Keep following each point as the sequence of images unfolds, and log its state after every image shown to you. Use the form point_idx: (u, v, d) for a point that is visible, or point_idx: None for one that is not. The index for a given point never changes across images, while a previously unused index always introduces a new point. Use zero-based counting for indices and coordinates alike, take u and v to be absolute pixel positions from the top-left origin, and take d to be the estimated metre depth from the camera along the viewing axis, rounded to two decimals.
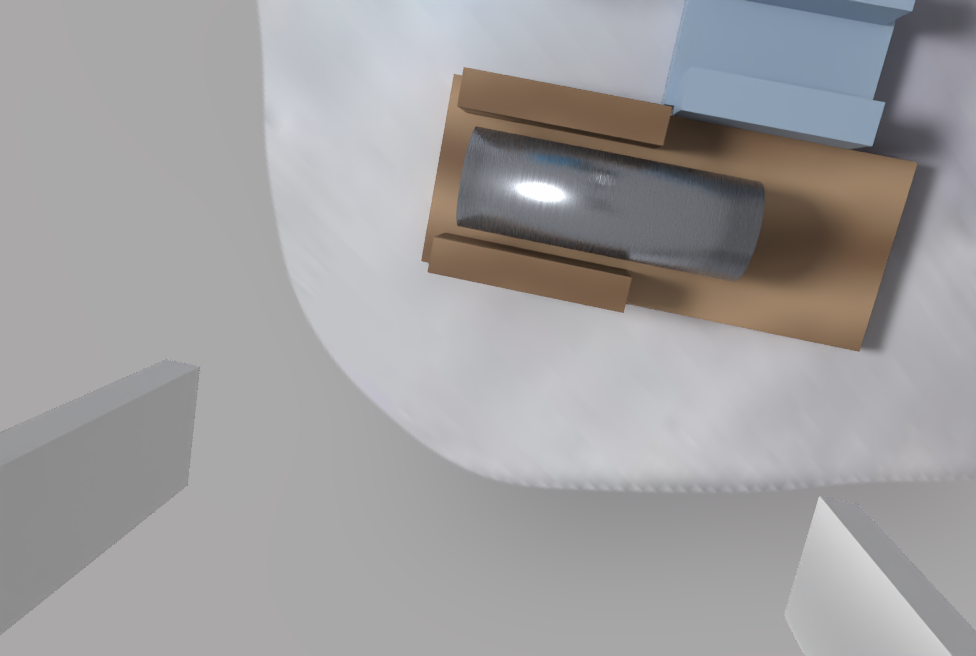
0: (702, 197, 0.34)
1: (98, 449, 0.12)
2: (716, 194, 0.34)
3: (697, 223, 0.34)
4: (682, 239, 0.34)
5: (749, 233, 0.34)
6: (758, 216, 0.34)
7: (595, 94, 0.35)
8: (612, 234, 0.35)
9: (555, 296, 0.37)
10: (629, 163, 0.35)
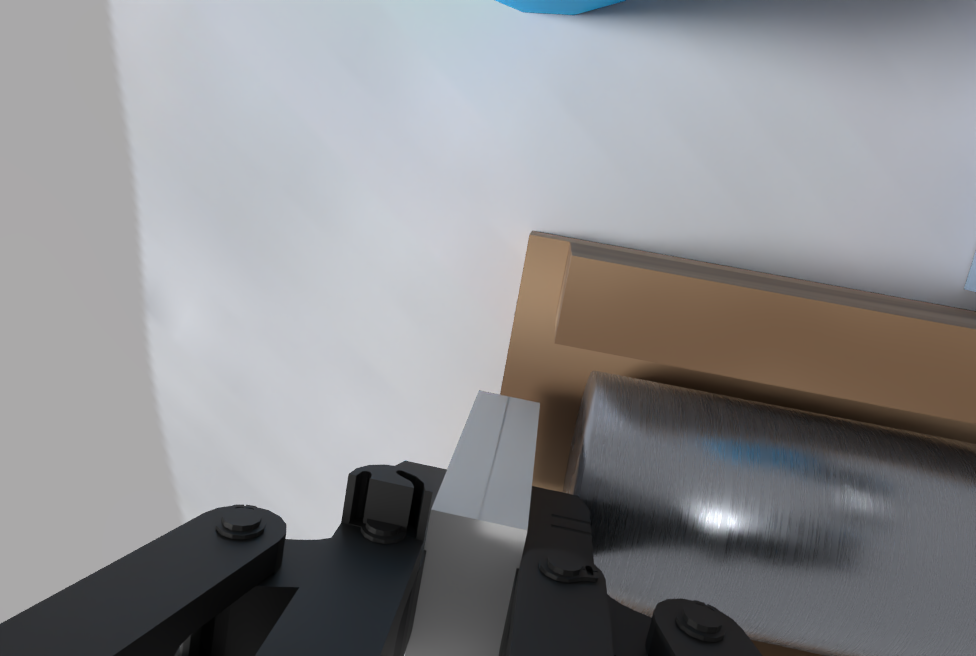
0: None
1: None
2: None
3: None
4: None
5: None
6: None
7: (899, 320, 0.14)
8: None
9: None
10: None
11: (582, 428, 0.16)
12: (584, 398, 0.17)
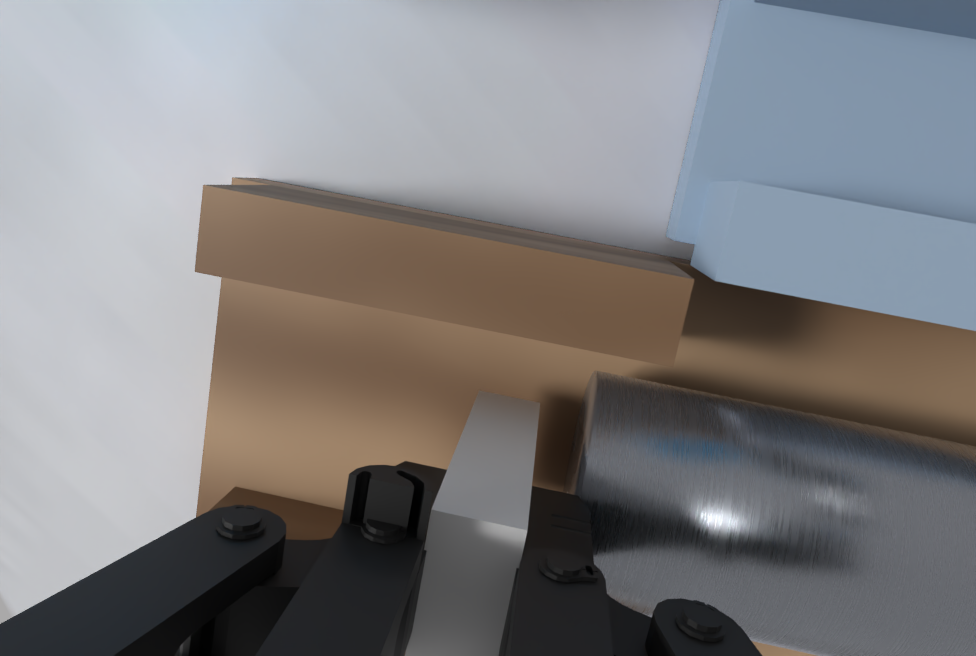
0: None
1: None
2: None
3: None
4: None
5: None
6: None
7: (510, 248, 0.15)
8: None
9: None
10: None
11: (583, 428, 0.16)
12: (585, 398, 0.17)
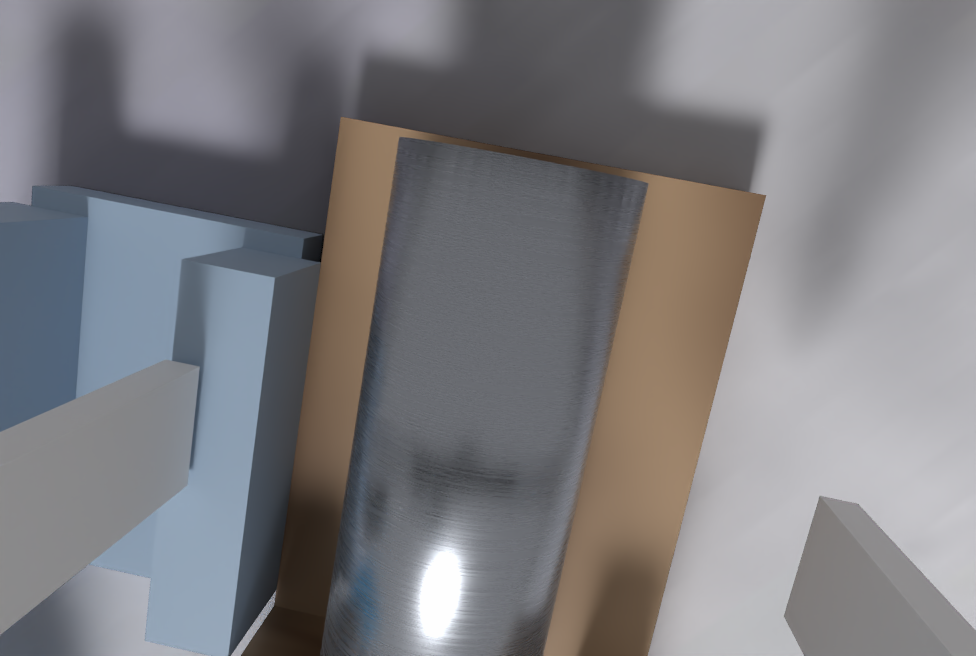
0: (406, 299, 0.13)
1: (97, 449, 0.12)
2: (402, 262, 0.13)
3: (463, 315, 0.13)
4: (508, 350, 0.13)
5: (487, 177, 0.12)
6: (446, 155, 0.13)
7: None
8: (498, 518, 0.14)
9: None
10: (353, 450, 0.15)
11: None
12: None
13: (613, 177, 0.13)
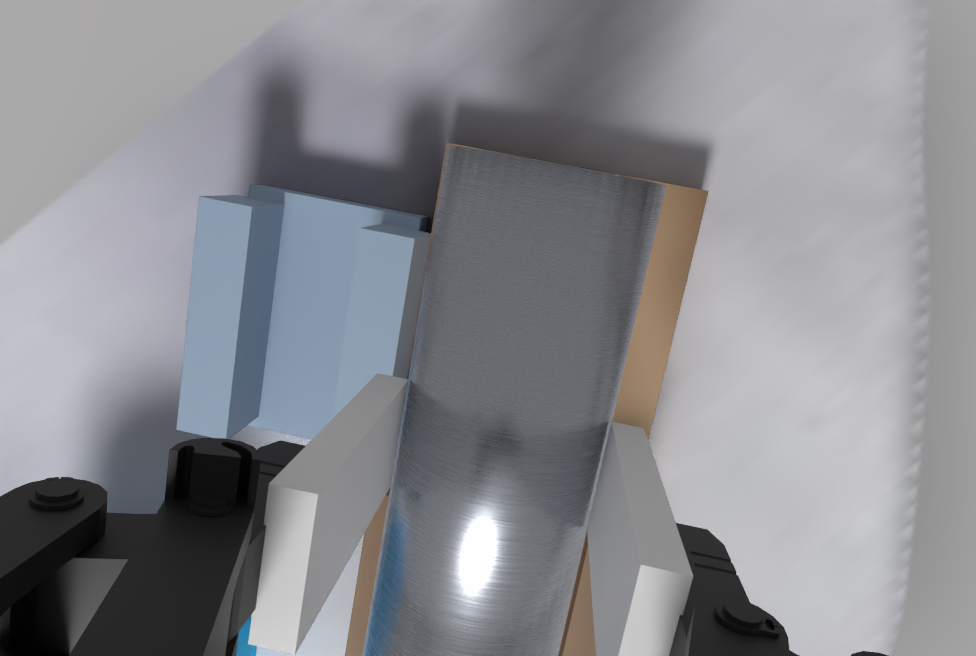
0: (448, 283, 0.16)
1: (367, 455, 0.14)
2: (445, 252, 0.16)
3: (496, 298, 0.15)
4: (534, 328, 0.15)
5: (517, 178, 0.14)
6: (483, 160, 0.15)
7: (360, 578, 0.28)
8: (524, 476, 0.16)
9: None
10: (403, 416, 0.17)
11: None
12: None
13: (628, 179, 0.15)
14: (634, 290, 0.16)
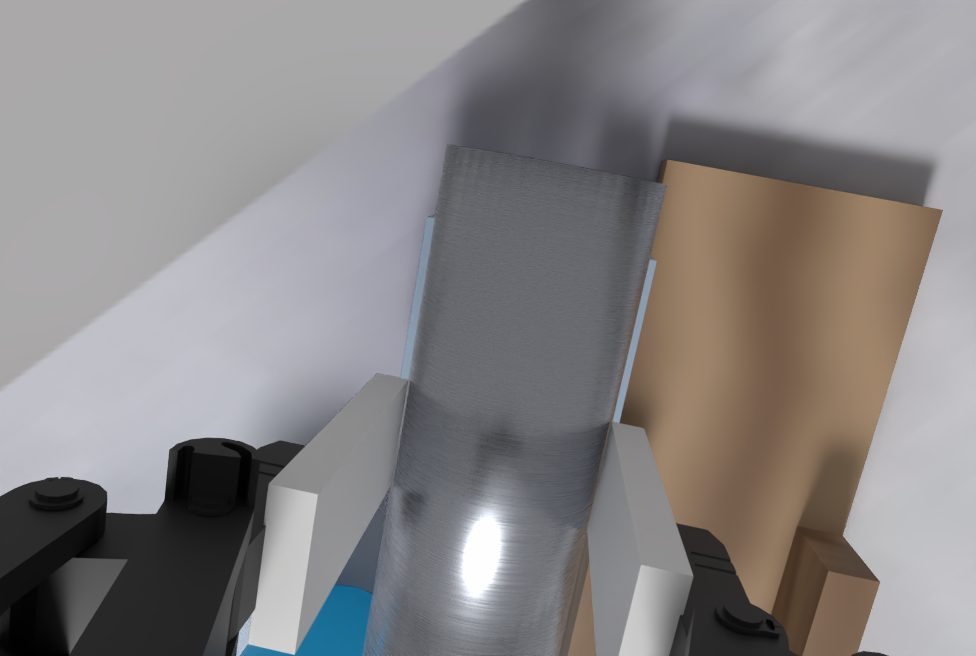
0: (448, 283, 0.16)
1: (367, 455, 0.14)
2: (445, 252, 0.16)
3: (496, 297, 0.15)
4: (534, 328, 0.15)
5: (517, 178, 0.14)
6: (483, 160, 0.15)
7: (580, 611, 0.27)
8: (523, 477, 0.16)
9: None
10: (402, 416, 0.17)
11: None
12: None
13: (628, 179, 0.15)
14: (634, 290, 0.16)
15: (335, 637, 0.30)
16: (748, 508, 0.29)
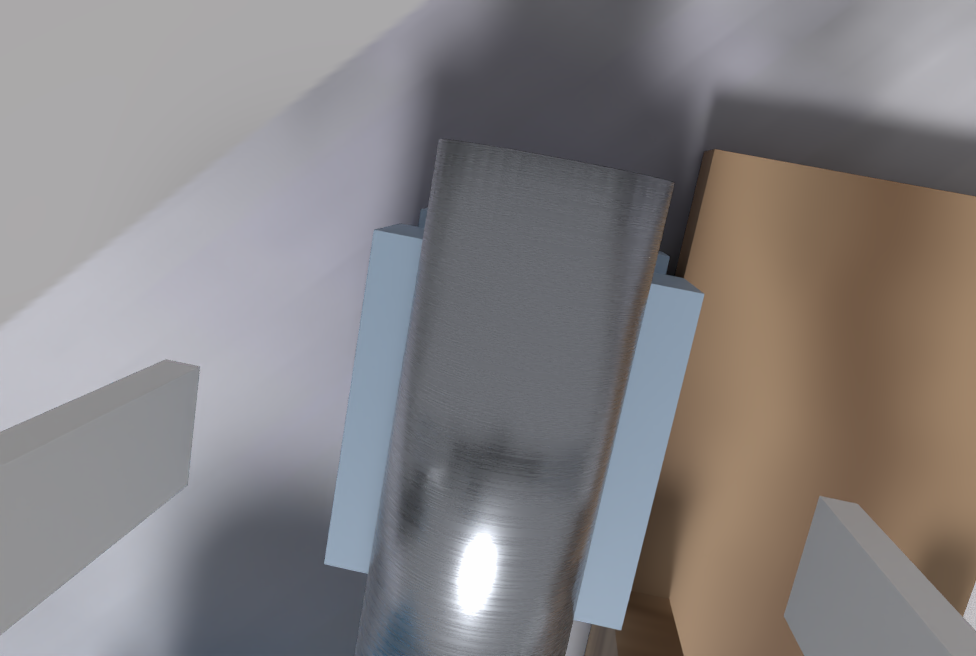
0: (432, 284, 0.15)
1: (98, 449, 0.12)
2: (431, 251, 0.15)
3: (477, 300, 0.14)
4: (517, 333, 0.14)
5: (499, 171, 0.13)
6: (466, 153, 0.14)
7: None
8: (507, 494, 0.14)
9: None
10: (392, 425, 0.17)
11: None
12: None
13: (622, 172, 0.13)
14: (634, 295, 0.14)
15: None
16: None
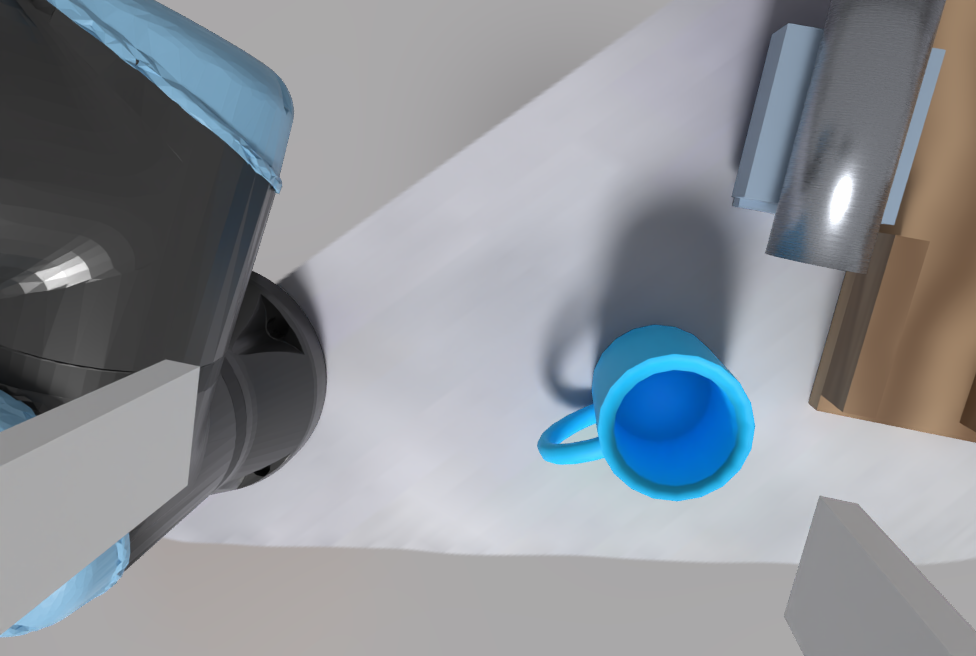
0: (849, 28, 0.35)
1: (98, 449, 0.12)
2: (846, 14, 0.35)
3: (876, 28, 0.34)
4: (894, 41, 0.34)
5: None
6: None
7: (877, 301, 0.40)
8: (883, 113, 0.35)
9: None
10: (810, 104, 0.37)
11: None
12: None
13: None
14: (935, 31, 0.35)
15: (685, 339, 0.42)
16: None
